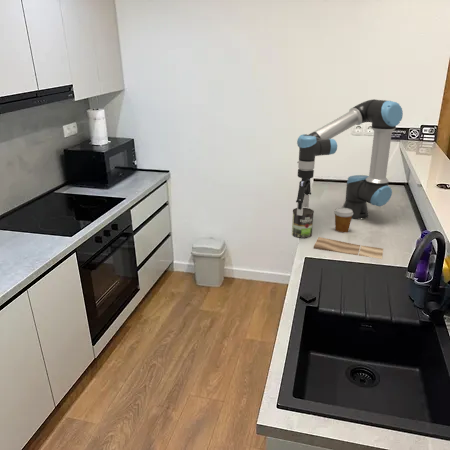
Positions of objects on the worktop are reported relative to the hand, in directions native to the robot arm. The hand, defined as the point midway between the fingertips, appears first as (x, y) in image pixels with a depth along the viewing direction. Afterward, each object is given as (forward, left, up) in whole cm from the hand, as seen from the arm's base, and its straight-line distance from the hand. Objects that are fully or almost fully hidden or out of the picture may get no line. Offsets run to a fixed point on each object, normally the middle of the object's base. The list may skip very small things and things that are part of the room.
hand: (302, 211), depth 212 cm
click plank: (+9, +19, -13) cm, 25 cm away
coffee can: (0, 0, -14) cm, 14 cm away
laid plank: (+9, +35, -14) cm, 38 cm away
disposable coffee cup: (-14, +18, -14) cm, 27 cm away
